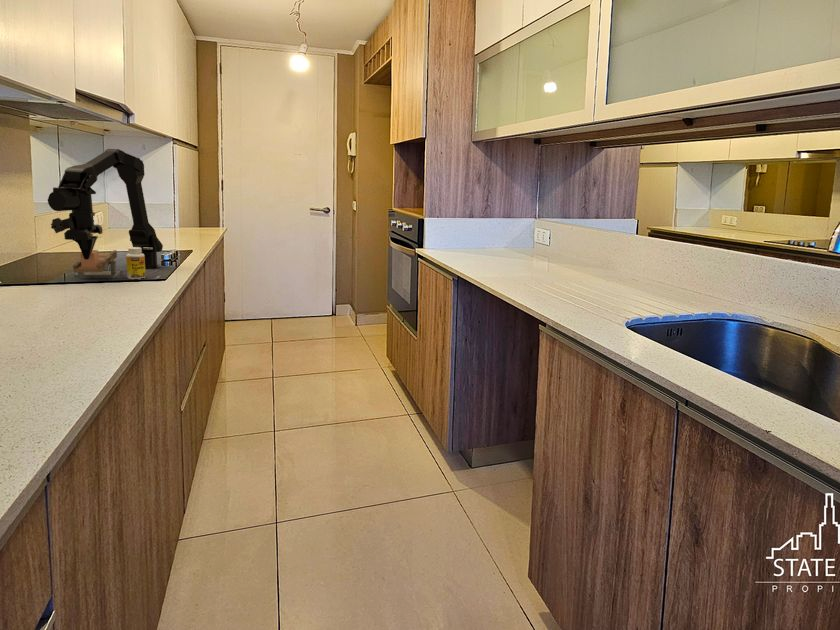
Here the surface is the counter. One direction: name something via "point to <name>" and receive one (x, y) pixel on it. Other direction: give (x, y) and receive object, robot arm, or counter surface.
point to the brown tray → (103, 260)
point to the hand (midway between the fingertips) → (86, 259)
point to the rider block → (90, 259)
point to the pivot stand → (99, 273)
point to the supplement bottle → (135, 263)
